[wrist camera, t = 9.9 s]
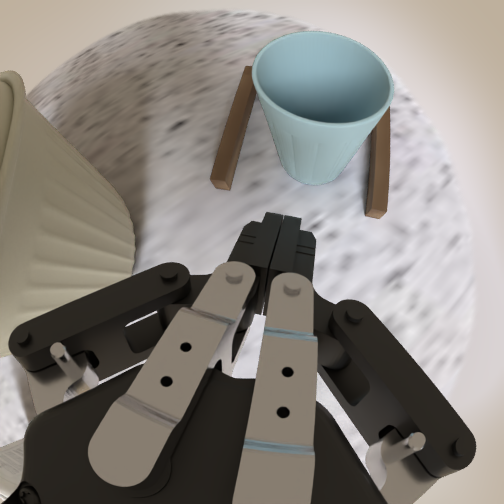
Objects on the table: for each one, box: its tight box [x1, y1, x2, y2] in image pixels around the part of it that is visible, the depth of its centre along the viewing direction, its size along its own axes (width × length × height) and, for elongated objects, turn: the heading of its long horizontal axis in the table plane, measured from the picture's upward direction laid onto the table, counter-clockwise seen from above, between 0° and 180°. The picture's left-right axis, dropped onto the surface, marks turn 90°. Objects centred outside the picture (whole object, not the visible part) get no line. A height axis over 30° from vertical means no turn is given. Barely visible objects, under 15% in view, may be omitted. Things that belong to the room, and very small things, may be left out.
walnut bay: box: [210, 66, 390, 219], centre depth 22 cm, size 13×12×2 cm
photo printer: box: [0, 438, 24, 501], centre depth 15 cm, size 10×4×12 cm, turn 95°
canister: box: [0, 71, 136, 358], centre depth 14 cm, size 18×18×21 cm
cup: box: [252, 31, 394, 185], centre depth 18 cm, size 8×8×10 cm
